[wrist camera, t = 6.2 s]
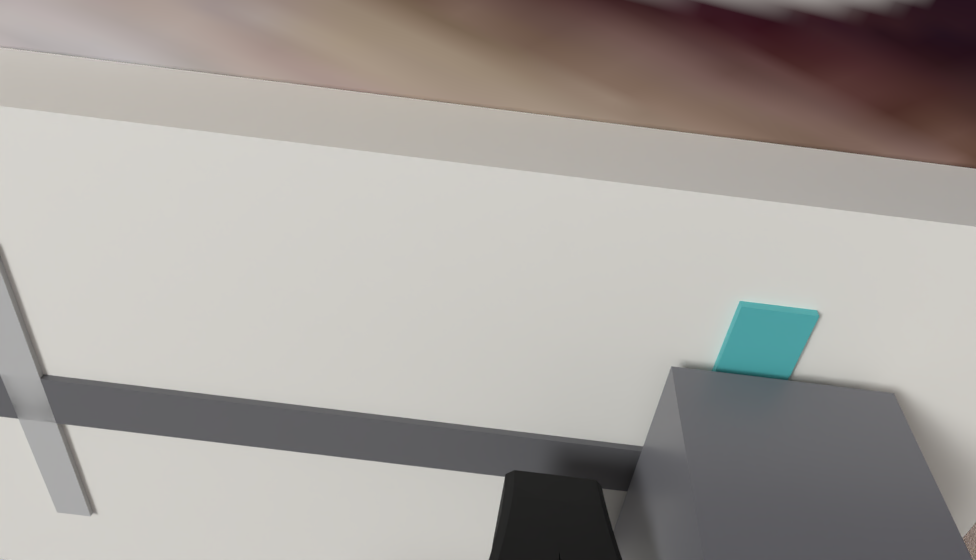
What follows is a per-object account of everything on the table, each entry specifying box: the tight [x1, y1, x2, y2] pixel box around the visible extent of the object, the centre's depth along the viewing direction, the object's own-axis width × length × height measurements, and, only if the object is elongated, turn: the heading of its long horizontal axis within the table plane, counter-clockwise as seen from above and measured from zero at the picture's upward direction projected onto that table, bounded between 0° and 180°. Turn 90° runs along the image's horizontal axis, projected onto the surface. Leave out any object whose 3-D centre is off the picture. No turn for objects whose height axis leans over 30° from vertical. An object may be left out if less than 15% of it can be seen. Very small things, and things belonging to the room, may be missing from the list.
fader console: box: [0, 47, 976, 560], centre depth 13 cm, size 22×10×2 cm, turn 84°
